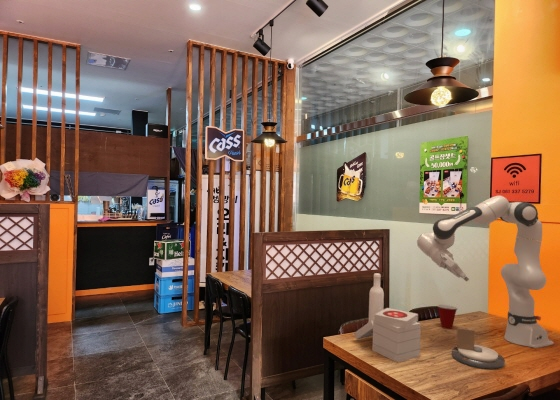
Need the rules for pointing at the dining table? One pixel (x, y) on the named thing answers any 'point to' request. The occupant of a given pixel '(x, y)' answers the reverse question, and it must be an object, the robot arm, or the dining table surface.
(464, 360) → the dial housing
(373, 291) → the bottle
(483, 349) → the dial
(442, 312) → the plastic cup
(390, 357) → the pizza boxes
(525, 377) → the dining table surface
